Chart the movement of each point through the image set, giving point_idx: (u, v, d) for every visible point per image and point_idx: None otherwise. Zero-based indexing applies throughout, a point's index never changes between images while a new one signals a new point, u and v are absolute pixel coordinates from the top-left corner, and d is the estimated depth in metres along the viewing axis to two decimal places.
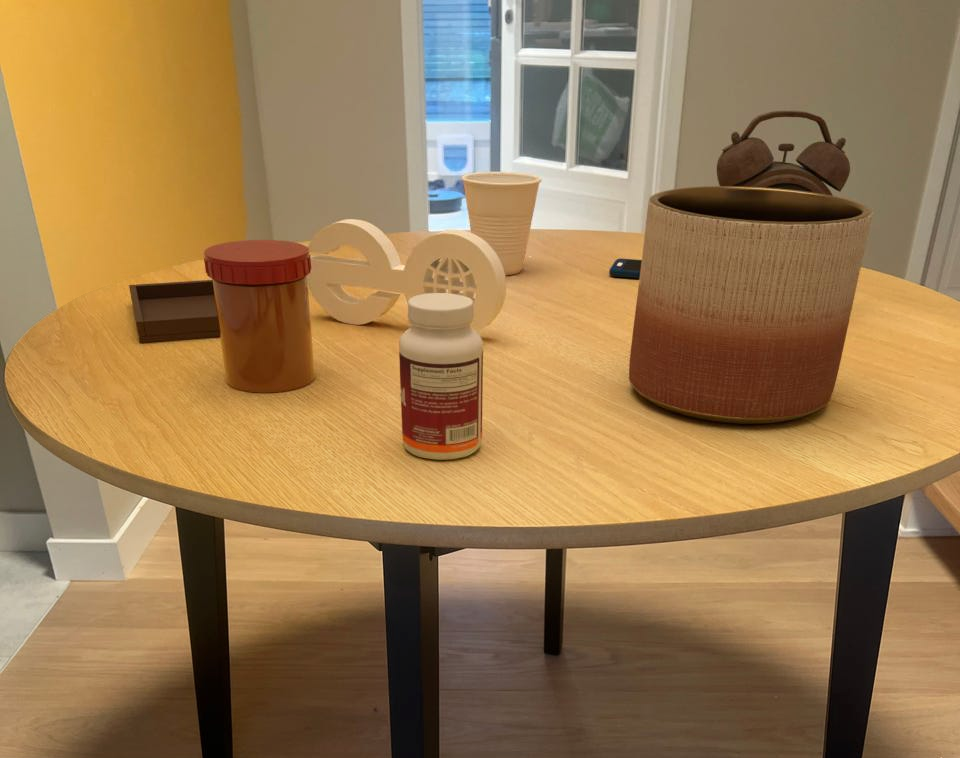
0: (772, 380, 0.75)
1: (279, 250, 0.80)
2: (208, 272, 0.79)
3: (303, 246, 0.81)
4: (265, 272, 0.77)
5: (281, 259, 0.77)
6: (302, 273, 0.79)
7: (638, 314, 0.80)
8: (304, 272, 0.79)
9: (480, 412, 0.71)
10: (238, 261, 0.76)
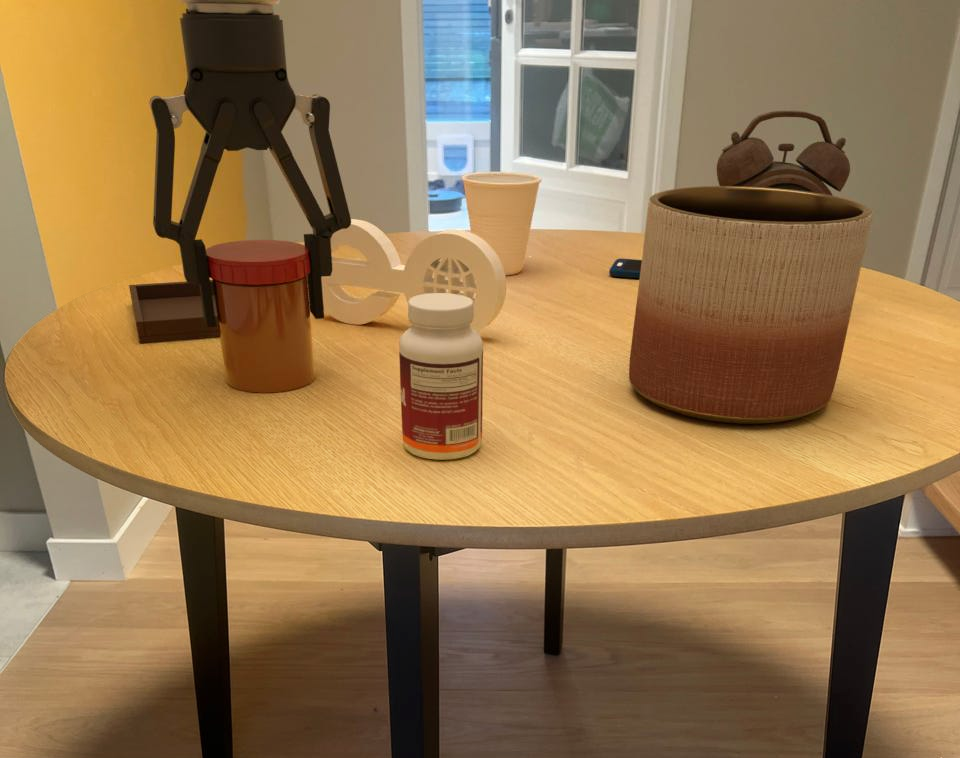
0: (772, 380, 0.75)
1: (279, 250, 0.80)
2: None
3: (303, 246, 0.81)
4: (265, 272, 0.77)
5: (281, 259, 0.77)
6: (302, 273, 0.79)
7: (638, 314, 0.80)
8: (304, 272, 0.79)
9: (480, 412, 0.71)
10: (238, 261, 0.76)
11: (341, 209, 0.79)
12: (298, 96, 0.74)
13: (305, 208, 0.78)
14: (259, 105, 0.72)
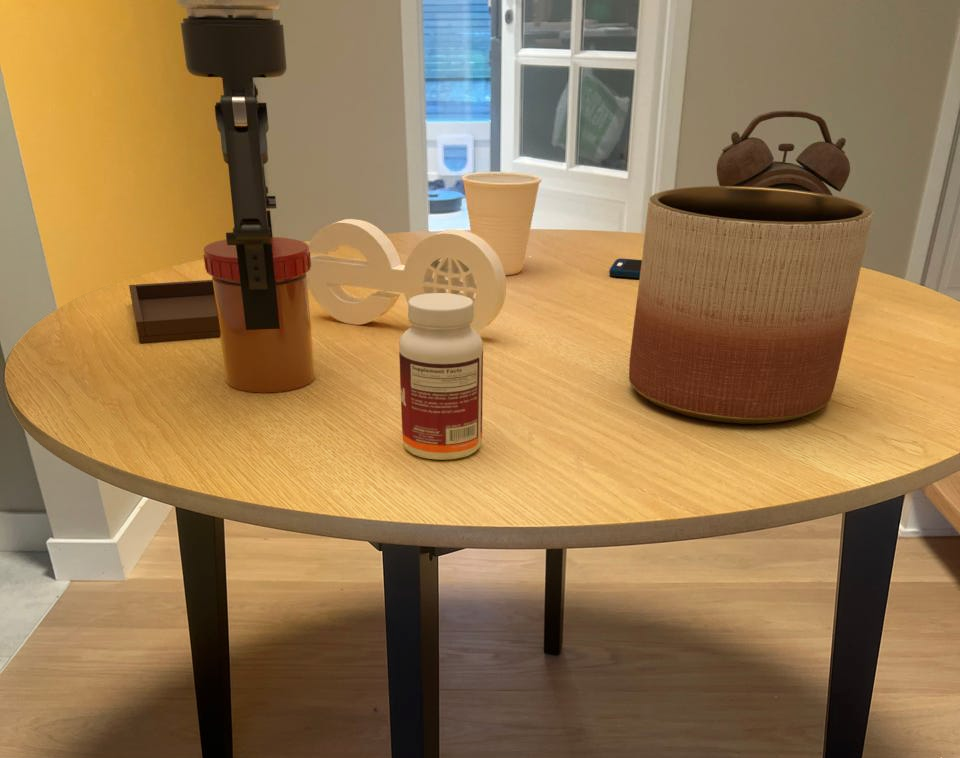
0: (772, 380, 0.75)
1: None
2: (275, 275, 0.77)
3: None
4: None
5: (299, 241, 0.82)
6: None
7: (638, 314, 0.80)
8: None
9: (480, 412, 0.71)
10: (304, 250, 0.79)
11: None
12: None
13: (265, 187, 0.82)
14: None
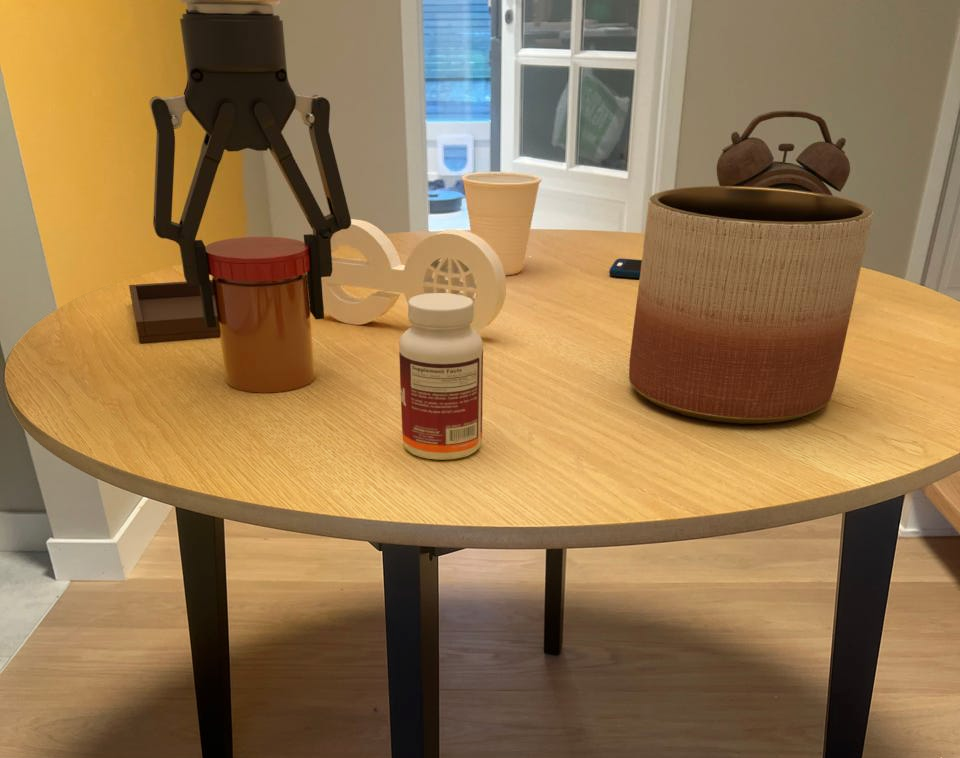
0: (772, 380, 0.75)
1: (260, 242, 0.81)
2: (275, 275, 0.77)
3: (245, 237, 0.82)
4: None
5: (299, 241, 0.82)
6: None
7: (638, 314, 0.80)
8: None
9: (480, 412, 0.71)
10: (304, 250, 0.79)
11: (341, 210, 0.79)
12: (298, 97, 0.74)
13: (305, 209, 0.78)
14: (259, 105, 0.72)
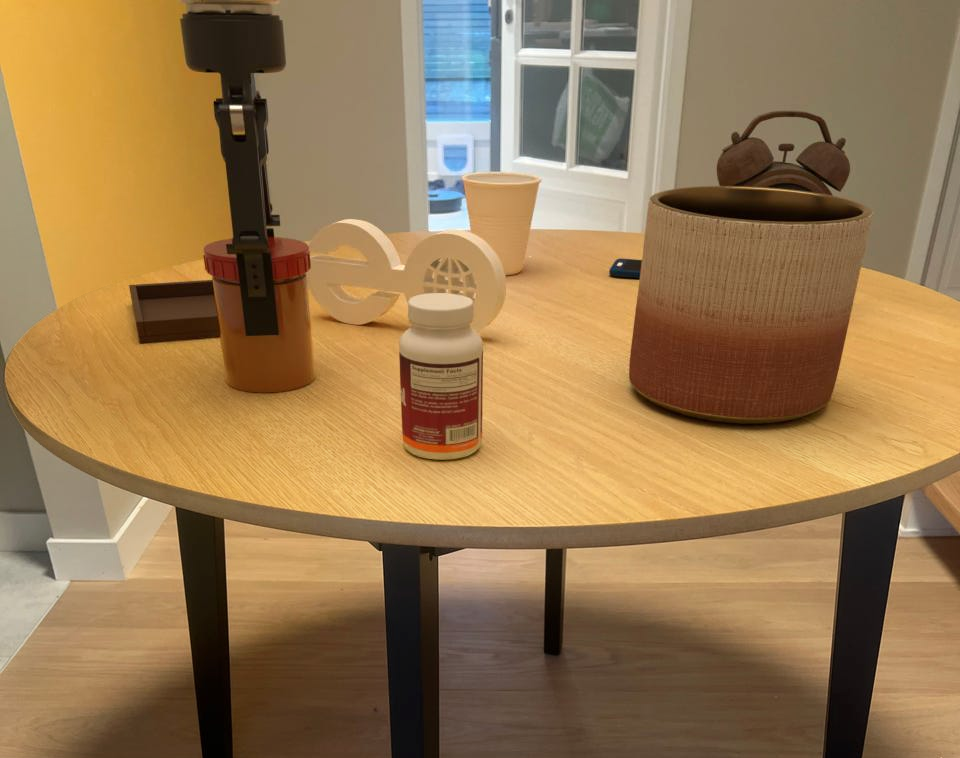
0: (772, 380, 0.75)
1: None
2: None
3: (206, 248, 0.79)
4: None
5: None
6: None
7: (638, 314, 0.80)
8: None
9: (480, 412, 0.71)
10: (282, 238, 0.83)
11: (269, 196, 0.84)
12: None
13: (268, 199, 0.81)
14: (266, 102, 0.75)
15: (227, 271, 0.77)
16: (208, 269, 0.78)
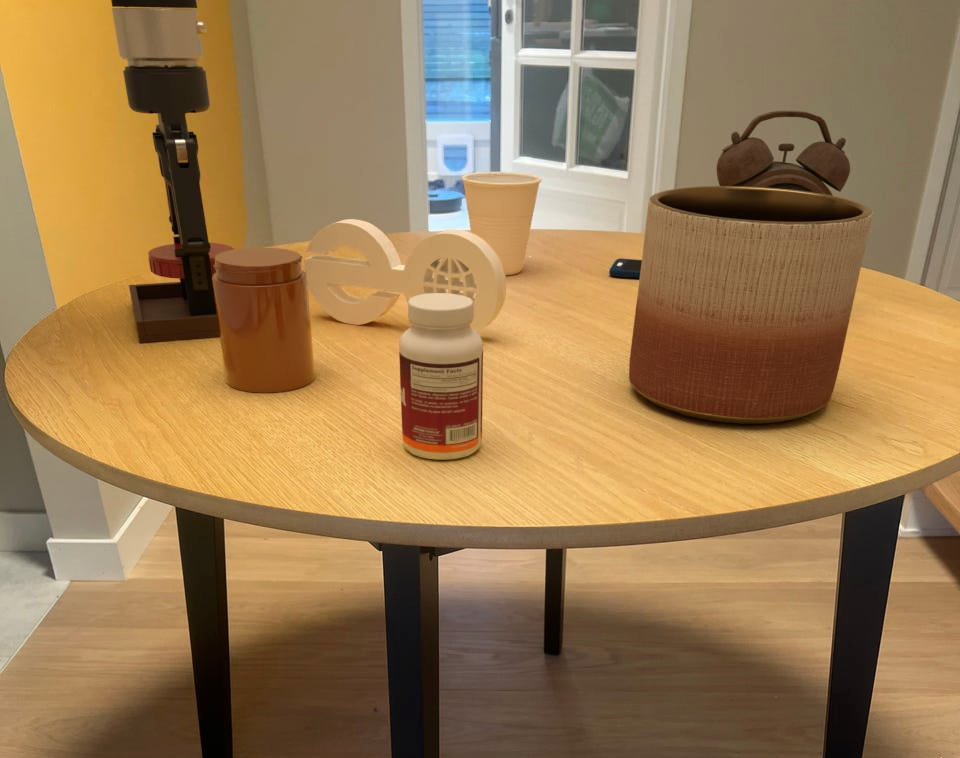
0: (772, 380, 0.75)
1: (173, 250, 0.98)
2: None
3: (151, 253, 0.96)
4: None
5: (175, 244, 1.01)
6: None
7: (638, 314, 0.80)
8: None
9: (480, 412, 0.71)
10: None
11: None
12: None
13: None
14: None
15: (173, 271, 0.95)
16: (155, 270, 0.96)
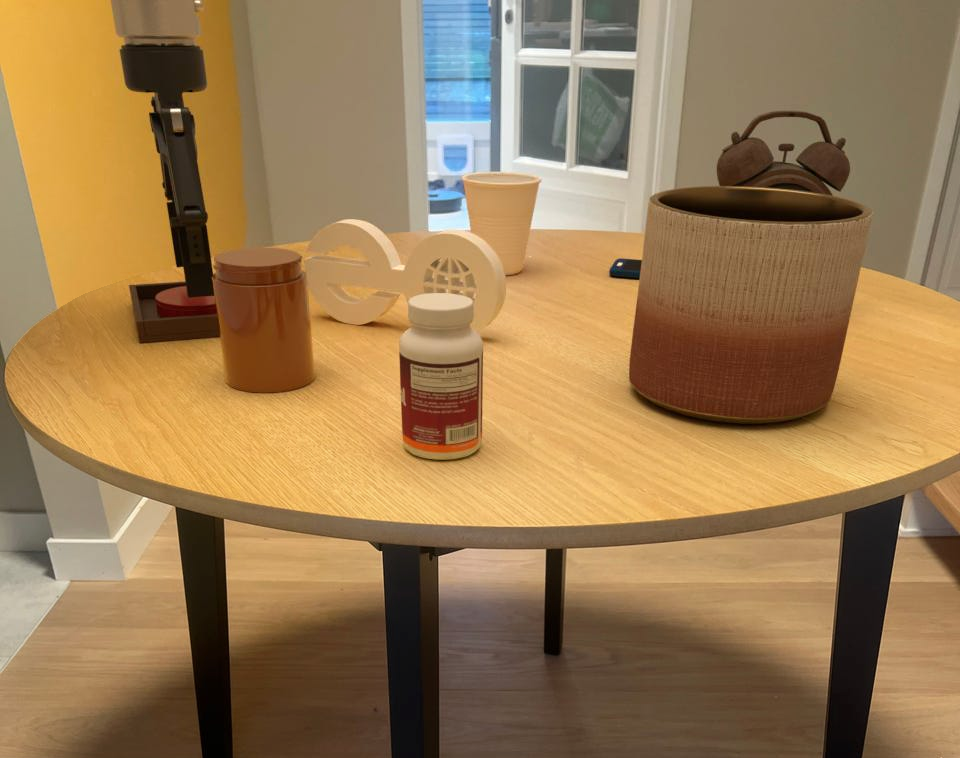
0: (772, 380, 0.75)
1: (179, 294, 1.00)
2: None
3: (158, 298, 0.99)
4: None
5: (181, 287, 1.03)
6: None
7: (638, 314, 0.80)
8: None
9: (480, 412, 0.71)
10: None
11: None
12: None
13: None
14: None
15: (180, 316, 0.97)
16: (162, 315, 0.99)
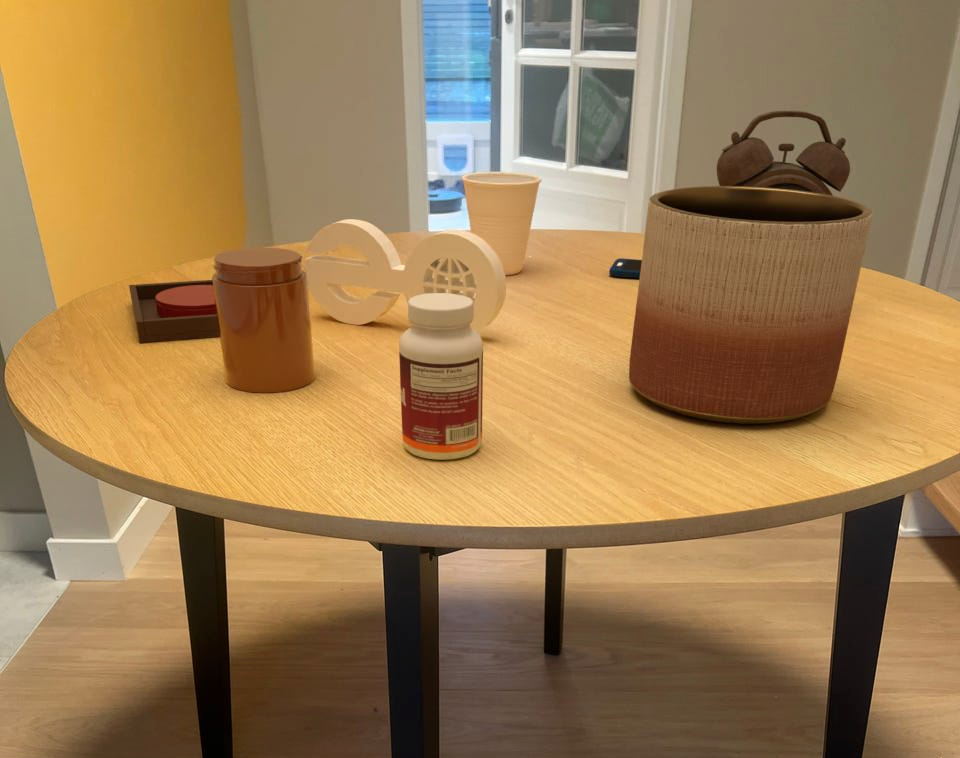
0: (772, 380, 0.75)
1: (179, 294, 1.00)
2: None
3: (158, 298, 0.99)
4: None
5: (181, 287, 1.03)
6: None
7: (638, 314, 0.80)
8: None
9: (480, 412, 0.71)
10: None
11: None
12: None
13: None
14: None
15: (180, 316, 0.97)
16: (162, 315, 0.99)
